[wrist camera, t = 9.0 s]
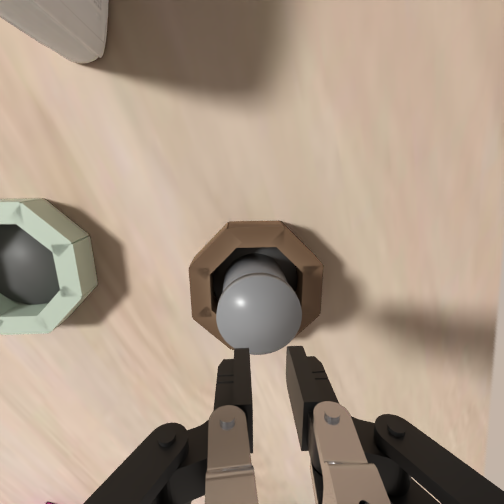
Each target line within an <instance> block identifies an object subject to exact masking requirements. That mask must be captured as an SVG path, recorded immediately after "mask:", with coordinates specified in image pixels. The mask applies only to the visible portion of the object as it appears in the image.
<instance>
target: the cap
mask: <svg viewBox="0 0 504 504" xmlns="http://www.w3.org/2000/svg"><path fill="white" fill-rule="evenodd" d="M301 320H302V310H301V305H300V302H299V300H298V297H297V295H296V293H295V291H294V290H293V289H292V287H291V286H290V285H289V284H288V282H287V280H286V278H285V275H284V273H283V271H282V269H281V267H280V266H279V264H278V263H277V262H276V261H275V260H274V259H272V258H271V257H269V256H267V255H264V254H259V253H251V254H246V255H243V256H241V257H239V258H237V259H236V260H235V261H233V262H232V263H231V265H230V266H229V267H228V269H227V271H226V274H225V278H224V285H223V292H222V294H221V296H220V299H219V302H218V307H217V313H216V321H217V326H218V329H219V332H220V334H221V335H222V337H223V338H224V340H225V341H226V342H227V343H228V344H229V345H230V346H232V347H233V348H249V354H253V355H262V354H268V353H272V352H275V351H277V350H279V349H281V348H283V347H284V346H286V345H287V344H288V343H289V342H290V341H291V340H292V339H293V338H294V337H295V335H296V334H297V332H298V330H299V328H300V325H301Z"/></svg>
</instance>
